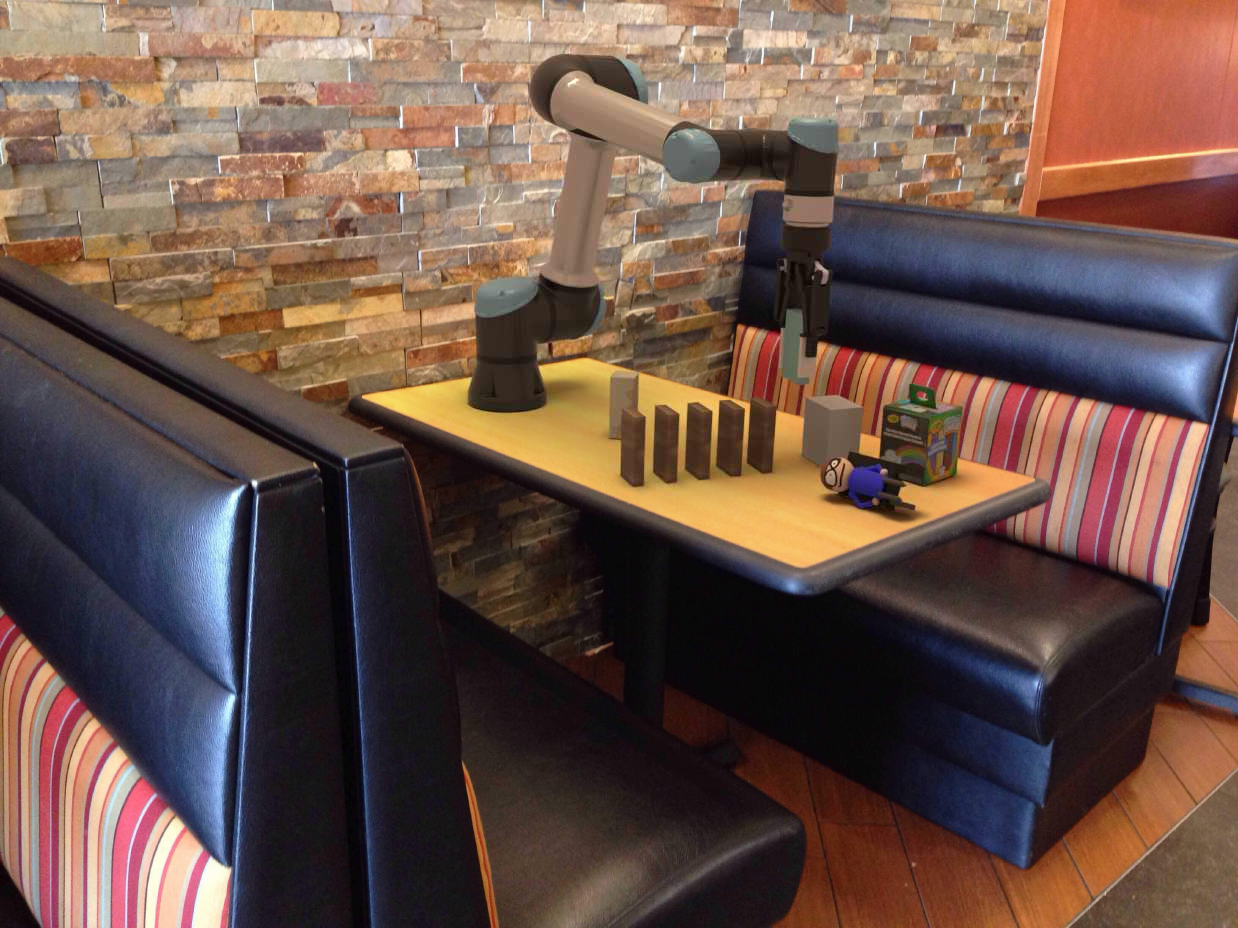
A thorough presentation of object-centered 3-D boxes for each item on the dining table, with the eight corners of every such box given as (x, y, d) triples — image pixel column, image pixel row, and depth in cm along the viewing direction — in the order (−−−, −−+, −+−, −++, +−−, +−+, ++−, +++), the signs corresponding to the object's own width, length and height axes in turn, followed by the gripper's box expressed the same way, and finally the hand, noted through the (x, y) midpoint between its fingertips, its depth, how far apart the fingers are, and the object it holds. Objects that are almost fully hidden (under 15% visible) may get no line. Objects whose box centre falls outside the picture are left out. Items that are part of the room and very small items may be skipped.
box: (632, 440, 190) (633, 378, 187) (608, 438, 191) (609, 376, 188) (638, 432, 195) (639, 371, 192) (614, 430, 196) (615, 369, 192)
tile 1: (632, 486, 168) (634, 417, 164) (620, 475, 173) (621, 407, 169) (643, 485, 168) (645, 416, 165) (630, 474, 173) (632, 407, 170)
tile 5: (762, 473, 175) (766, 407, 171) (746, 463, 180) (750, 398, 176) (772, 472, 175) (776, 406, 172) (756, 462, 180) (760, 397, 177)
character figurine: (901, 526, 155) (812, 500, 165) (927, 510, 160) (839, 486, 170) (905, 475, 152) (814, 451, 162) (931, 460, 157) (841, 438, 167)
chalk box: (957, 476, 176) (968, 386, 171) (923, 487, 170) (934, 395, 165) (909, 461, 182) (918, 374, 178) (874, 472, 177) (883, 382, 172)
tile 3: (698, 480, 171) (701, 412, 168) (684, 469, 176) (687, 402, 173) (709, 479, 172) (712, 411, 168) (694, 468, 177) (697, 402, 173)
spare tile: (798, 384, 172) (803, 315, 169) (781, 376, 177) (786, 308, 174) (809, 384, 173) (814, 314, 169) (791, 375, 178) (796, 308, 174)
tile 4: (730, 476, 173) (734, 409, 170) (715, 466, 178) (719, 400, 175) (741, 475, 174) (745, 408, 170) (725, 465, 179) (729, 399, 175)
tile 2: (666, 483, 169) (668, 414, 166) (652, 472, 174) (654, 405, 171) (676, 482, 170) (679, 413, 167) (663, 471, 175) (665, 404, 171)
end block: (801, 455, 184) (805, 397, 181) (832, 451, 186) (837, 394, 183) (825, 469, 177) (830, 410, 174) (857, 466, 179) (863, 407, 176)
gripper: (757, 218, 174) (749, 361, 182) (815, 231, 158) (804, 388, 165) (799, 217, 177) (789, 358, 184) (861, 230, 160) (847, 384, 167)
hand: (796, 372), depth 174 cm, fingers closed on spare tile, 6 cm apart
